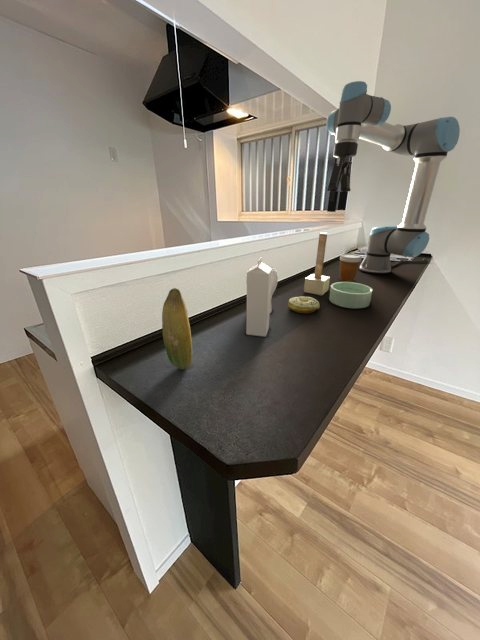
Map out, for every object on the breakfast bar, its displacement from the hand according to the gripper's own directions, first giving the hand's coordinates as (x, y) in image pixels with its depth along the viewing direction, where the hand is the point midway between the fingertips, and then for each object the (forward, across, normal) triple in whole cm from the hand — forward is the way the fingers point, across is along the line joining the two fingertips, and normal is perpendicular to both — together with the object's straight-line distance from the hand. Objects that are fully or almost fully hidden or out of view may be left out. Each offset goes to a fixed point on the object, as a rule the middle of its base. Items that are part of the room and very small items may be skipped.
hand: (336, 211), depth 98 cm
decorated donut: (+32, +22, -1) cm, 39 cm away
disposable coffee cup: (+32, -23, +4) cm, 40 cm away
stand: (+32, 0, -4) cm, 32 cm away
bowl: (+32, +6, +11) cm, 35 cm away
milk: (+32, +46, -6) cm, 56 cm away
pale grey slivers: (+32, +32, -13) cm, 47 cm away
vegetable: (+32, +73, -12) cm, 81 cm away
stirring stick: (+32, 0, -4) cm, 32 cm away
